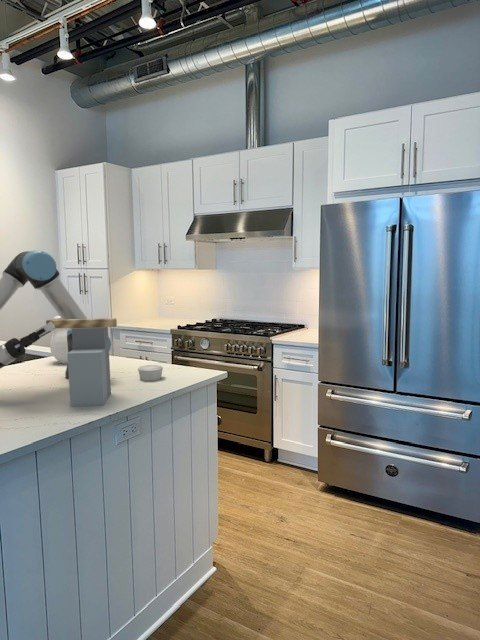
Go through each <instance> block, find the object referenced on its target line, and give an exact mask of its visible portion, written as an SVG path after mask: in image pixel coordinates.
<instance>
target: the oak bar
mask: <svg viewBox="0 0 480 640" xmlns="http://www.w3.org/2000/svg"><path fill="white" fill-rule="evenodd" d="M49 322H52V324H53V325H54V327H55V328H56V329H57V328H88V327H108V328H113V327H114V328H116V327H118V324H117V323H118V321H117V318H116V317H115V318H111V317H110V318H107V317H106V318H87V319H64V320H54V319H47V320H45V325H46V324H48V323H49Z"/></svg>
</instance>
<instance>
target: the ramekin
mask: <svg viewBox="0 0 480 640" xmlns="http://www.w3.org/2000/svg"><path fill="white" fill-rule="evenodd" d="M137 371H138V375H139V378H140V380H141V381H144V382H154V381H155V382H156V381H158V380H161V378H162V375H163V366H162V365H159V364H148V365H142V366H139V367H138V368H137Z"/></svg>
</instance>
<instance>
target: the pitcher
mask: <svg viewBox="0 0 480 640" xmlns="http://www.w3.org/2000/svg"><path fill="white" fill-rule="evenodd" d="M59 318H61V317H60V315H56V316H54V317H53V320H58V319H59ZM68 329H69V328H56V329H54V330H53V333H52V335H51V338H50V343H49V347H50V348H49V349H50V353H51V355H52V356H53V357H54V359H55V360H56V361H58V362H59V363H61V364H62V365H67V364H68V356H67V353H68V344H67V331H68Z"/></svg>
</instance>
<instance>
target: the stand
mask: <svg viewBox="0 0 480 640" xmlns="http://www.w3.org/2000/svg"><path fill="white" fill-rule="evenodd" d="M108 337H109V327H88V328H72V342H73V350H71V351H70V352H69V353H67V356H68V373H69V379H68V386H69V387H68V388H69V404H70V407H82V406H83V407H86V406H87V407H90V406H91V407H92V406H104V405H105V404H106V402H107V401H108V399H109V397H110V395H111V394H112V389H111V386H112V385H111V369H110V368H111V367H110V351H109V340H108Z"/></svg>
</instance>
